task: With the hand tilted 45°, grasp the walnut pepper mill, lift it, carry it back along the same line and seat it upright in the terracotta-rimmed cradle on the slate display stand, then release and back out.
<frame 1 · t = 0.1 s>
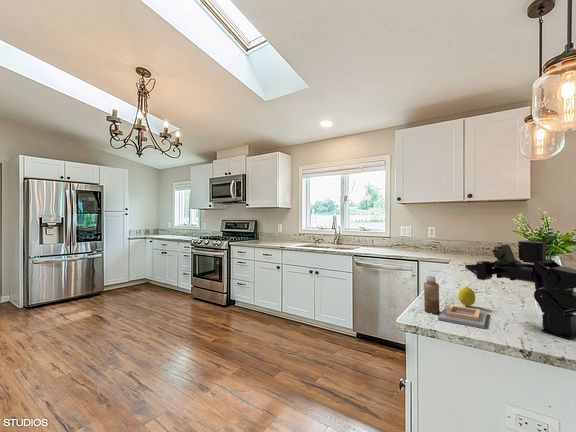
hand: (473, 265, 106), 17 cm above the countertop, tool horizontal, fingers open, 9 cm apart
pepper mill: (432, 311, 104), on the countertop
display stand: (463, 317, 97), on the countertop
lemon: (467, 307, 108), on the countertop
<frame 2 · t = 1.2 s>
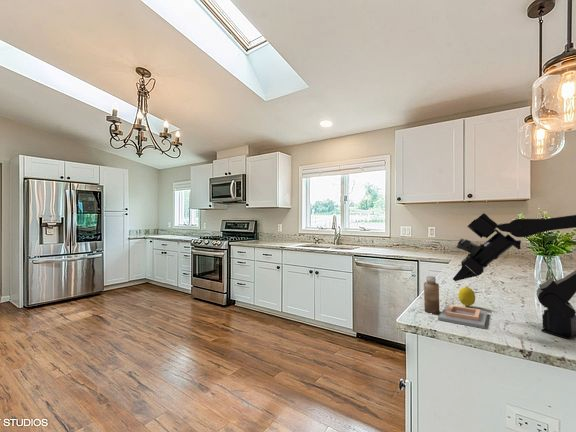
hand: (455, 277, 99), 14 cm above the countertop, tool tilted 45°, fingers open, 9 cm apart
nothing on the countertop moved.
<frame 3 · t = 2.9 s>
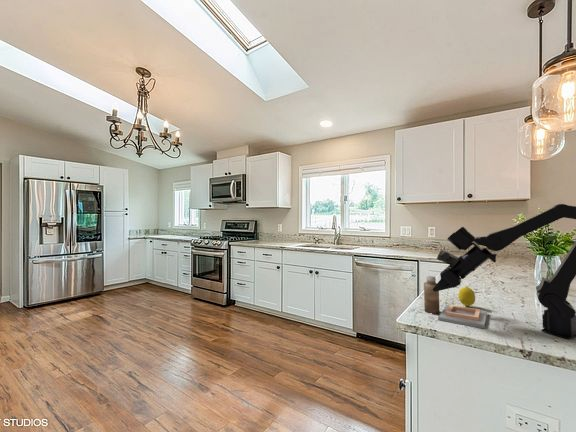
hand: (436, 287, 103), 9 cm above the countertop, tool tilted 45°, fingers open, 9 cm apart
nothing on the countertop moved.
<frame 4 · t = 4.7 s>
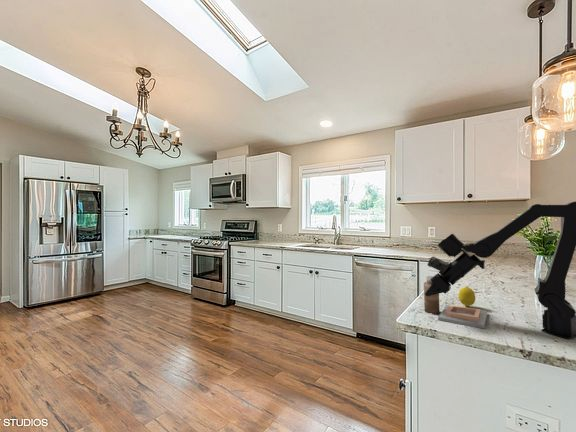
hand: (427, 293, 105), 7 cm above the countertop, tool tilted 45°, fingers closed on pepper mill, 5 cm apart
pepper mill: (432, 311, 104), on the countertop, touching gripper
everything else where it was.
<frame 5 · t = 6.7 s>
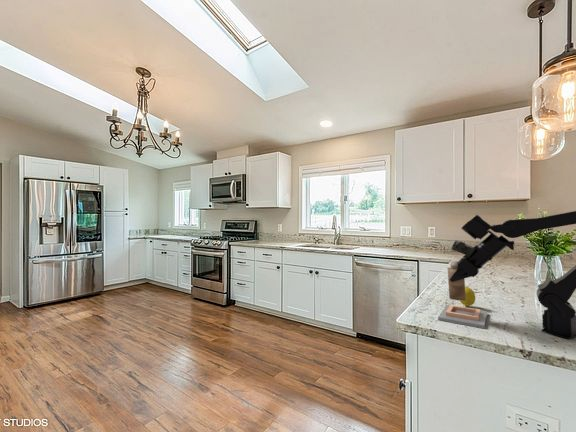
hand: (451, 279, 100), 13 cm above the countertop, tool tilted 45°, fingers closed on pepper mill, 5 cm apart
pepper mill: (457, 298, 99), point 6 cm above the countertop, touching gripper
everything else where it was.
when the fingers open (9 cm above the countertop, at t = 8.6 s): pepper mill drops 2 cm, resting on display stand.
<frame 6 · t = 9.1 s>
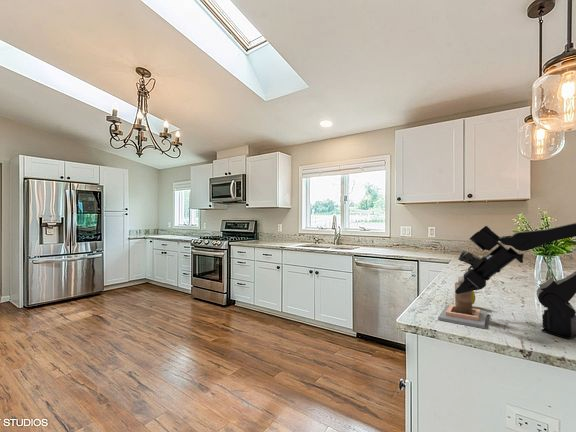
hand: (457, 289, 98), 9 cm above the countertop, tool tilted 45°, fingers open, 9 cm apart
pepper mill: (463, 314, 97), point 1 cm above the countertop, touching display stand
everything else where it was.
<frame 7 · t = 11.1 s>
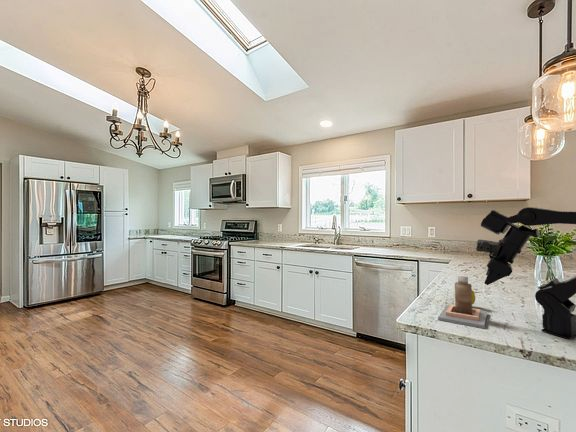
hand: (486, 279, 97), 13 cm above the countertop, tool tilted 30°, fingers open, 9 cm apart
nothing on the countertop moved.
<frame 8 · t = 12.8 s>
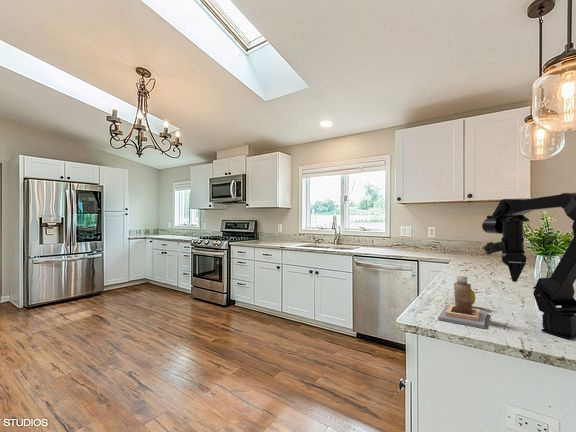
hand: (514, 279, 97), 13 cm above the countertop, tool pointing down, fingers open, 9 cm apart
nothing on the countertop moved.
at the end: pepper mill 0.1 cm off-centre on the display stand, point 1.0 cm above the display stand's base; pepper mill tilted 1°; the gripper is holding nothing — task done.
